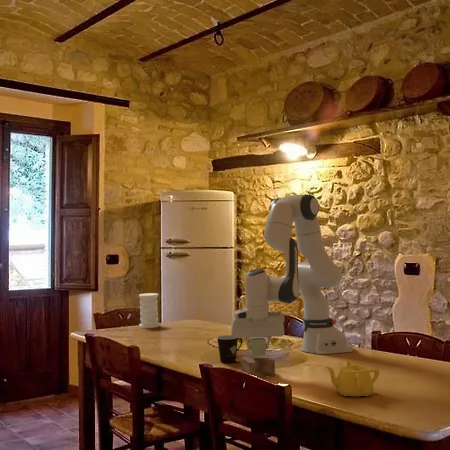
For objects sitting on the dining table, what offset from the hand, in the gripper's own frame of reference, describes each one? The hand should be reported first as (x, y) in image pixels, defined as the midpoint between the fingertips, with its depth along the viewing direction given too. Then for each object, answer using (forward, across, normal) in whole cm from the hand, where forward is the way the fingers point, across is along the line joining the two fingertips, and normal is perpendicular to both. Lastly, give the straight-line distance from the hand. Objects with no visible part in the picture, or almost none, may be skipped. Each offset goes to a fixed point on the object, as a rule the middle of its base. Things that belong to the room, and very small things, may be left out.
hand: (258, 348), depth 227 cm
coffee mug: (+10, +9, -22) cm, 26 cm away
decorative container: (+10, +50, -112) cm, 123 cm away
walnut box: (+10, 0, 0) cm, 10 cm away
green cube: (+2, 0, 0) cm, 2 cm away
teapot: (+10, -28, +30) cm, 42 cm away
